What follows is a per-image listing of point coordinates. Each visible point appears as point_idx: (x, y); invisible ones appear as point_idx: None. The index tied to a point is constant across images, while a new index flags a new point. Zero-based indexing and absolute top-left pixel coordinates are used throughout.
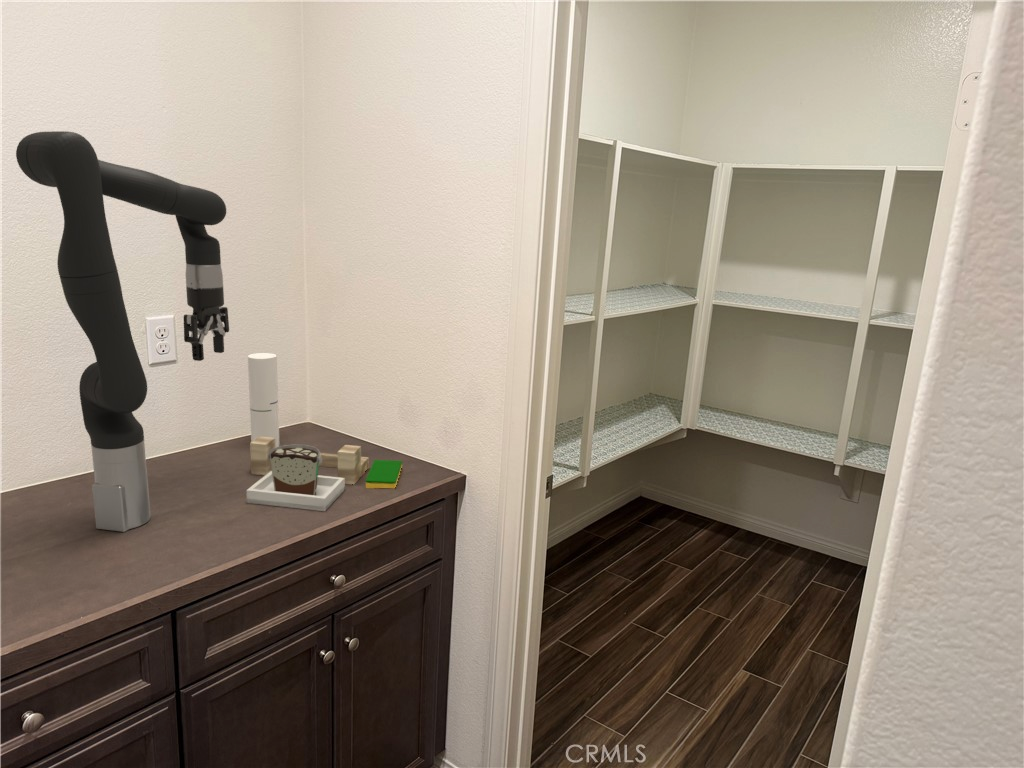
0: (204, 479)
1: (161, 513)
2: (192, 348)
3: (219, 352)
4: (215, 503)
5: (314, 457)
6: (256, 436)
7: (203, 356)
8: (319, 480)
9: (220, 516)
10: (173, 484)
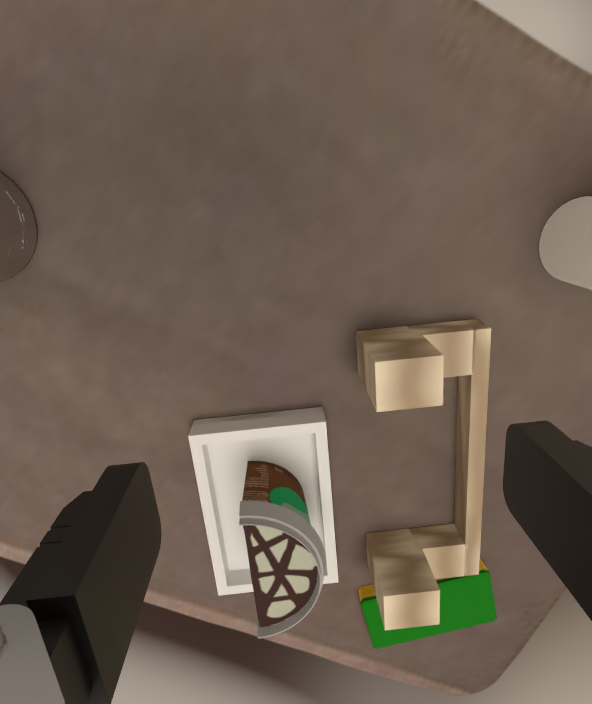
0: (280, 236)
1: (55, 276)
2: (21, 582)
3: (505, 473)
4: (161, 357)
5: (264, 619)
6: (567, 240)
7: (150, 566)
8: (323, 530)
9: (108, 408)
10: (217, 175)
